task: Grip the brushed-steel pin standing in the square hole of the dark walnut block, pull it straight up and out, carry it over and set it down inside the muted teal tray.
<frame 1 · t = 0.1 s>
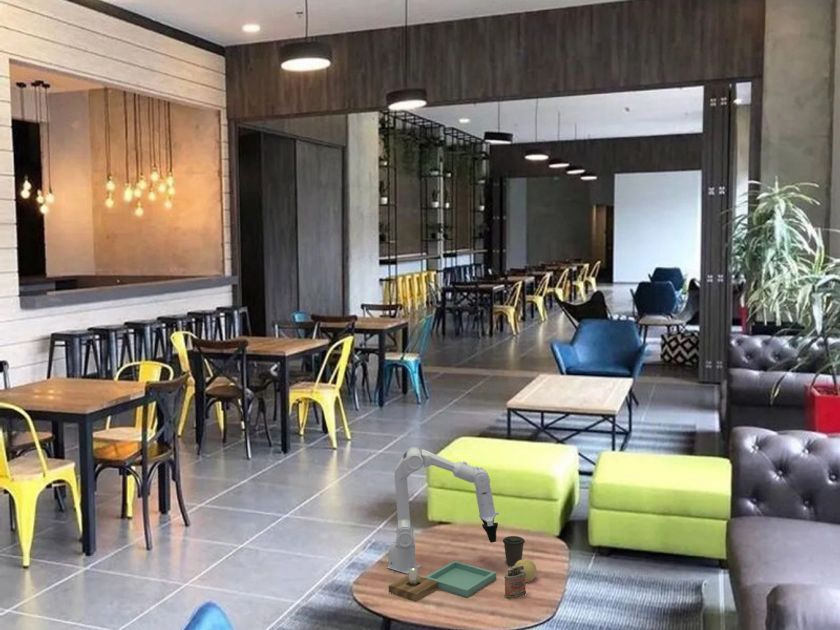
hand: (491, 538, 298), 11 cm above the table, tool pointing down, fingers open, 7 cm apart
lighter: (515, 596, 274), on the table
coffee cup: (513, 564, 300), on the table
apple: (524, 580, 287), on the table
tray: (460, 582, 285), on the table
pin: (413, 579, 279), in the pin block
pin block: (413, 590, 279), on the table
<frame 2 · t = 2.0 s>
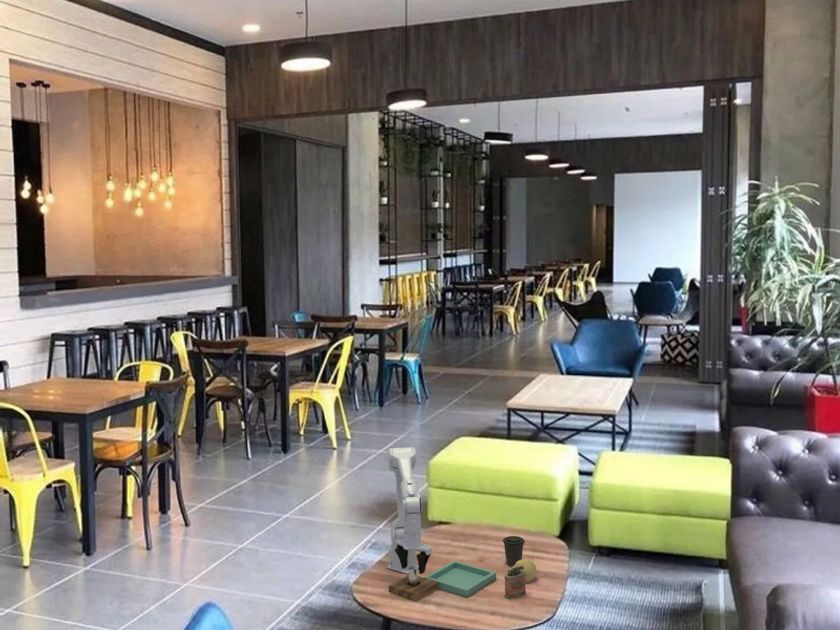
hand: (413, 570, 278), 7 cm above the table, tool pointing down, fingers open, 7 cm apart
nothing on the table moved.
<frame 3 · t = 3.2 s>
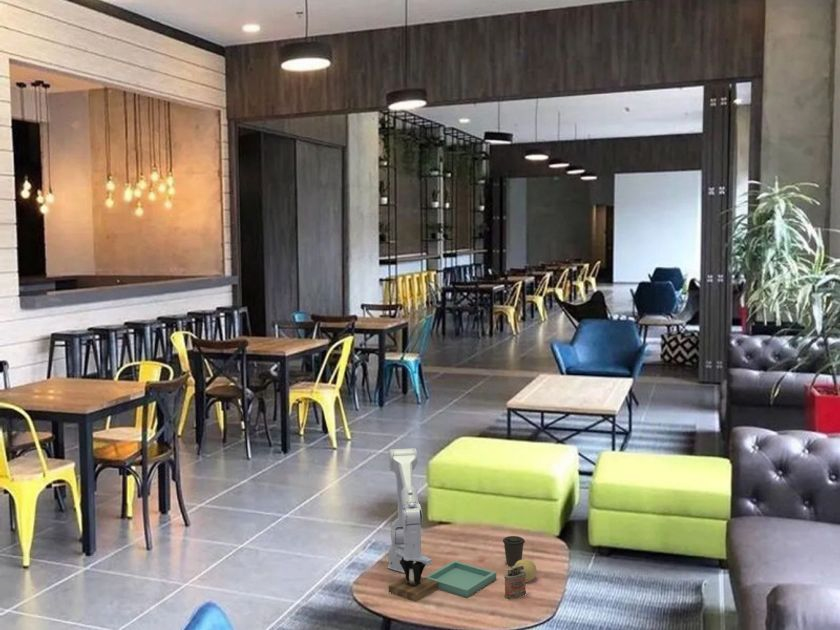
hand: (413, 581, 279), 3 cm above the table, tool pointing down, fingers closed on pin, 3 cm apart
pin: (413, 579, 279), in the pin block, touching gripper
everything else where it was.
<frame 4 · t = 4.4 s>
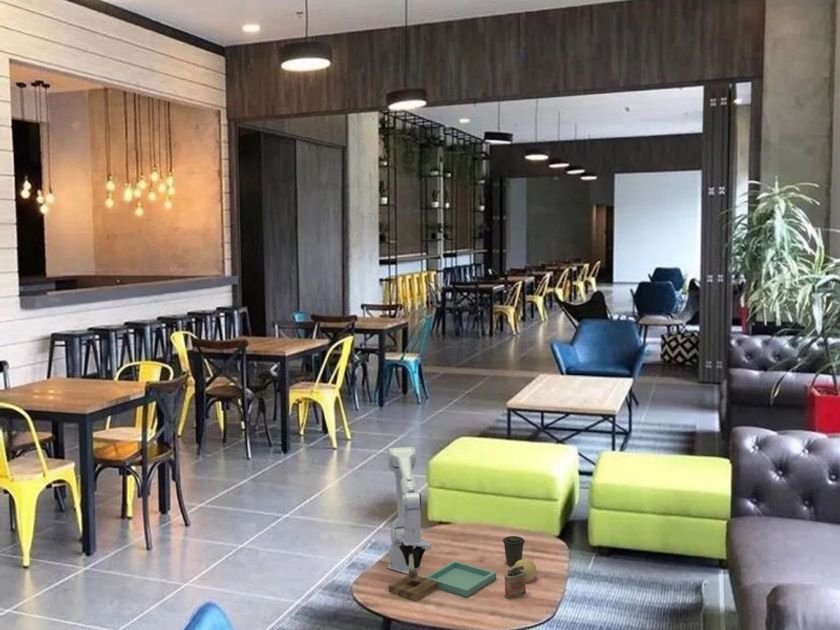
hand: (413, 566, 278), 9 cm above the table, tool pointing down, fingers closed on pin, 3 cm apart
pin: (413, 564, 278), point 9 cm above the table, touching gripper
everything else where it was.
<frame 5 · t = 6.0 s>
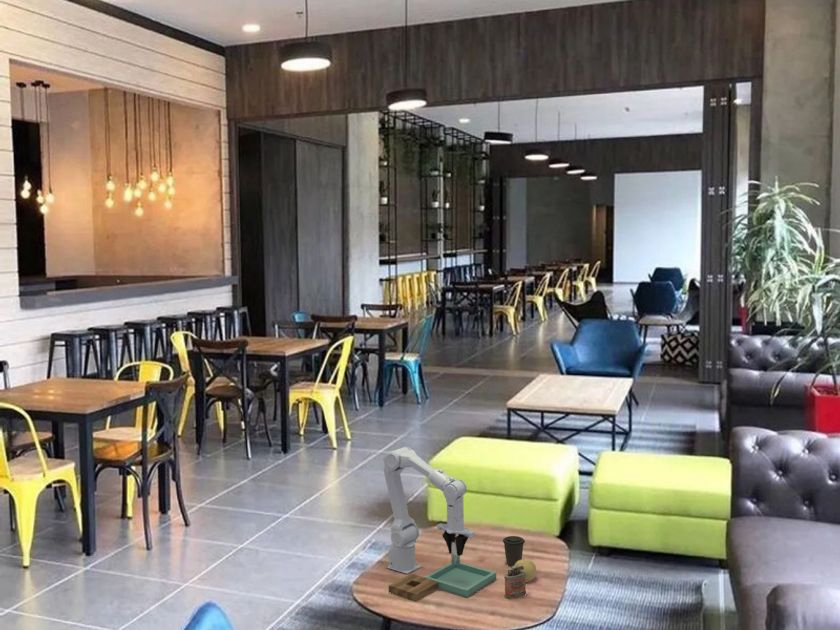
hand: (455, 553, 284), 10 cm above the table, tool pointing down, fingers closed on pin, 3 cm apart
pin: (455, 552, 284), point 11 cm above the table, touching gripper
everything else where it was.
when the fingers open (5 cm above the table, at t = 7.7 s): pin drops 1 cm, resting on tray.
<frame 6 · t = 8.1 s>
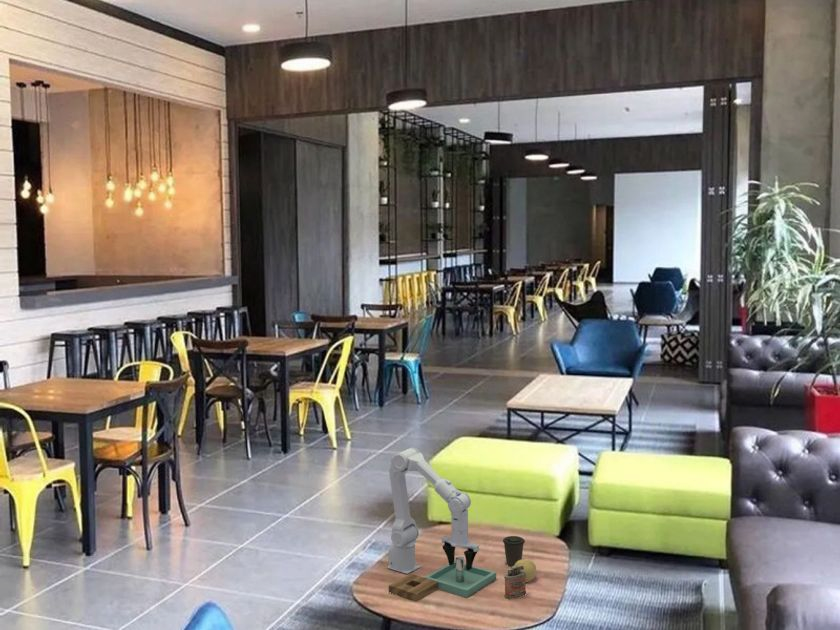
hand: (460, 566, 285), 6 cm above the table, tool pointing down, fingers open, 7 cm apart
pin: (460, 569, 285), in the tray, point 5 cm above the table
everything else where it was.
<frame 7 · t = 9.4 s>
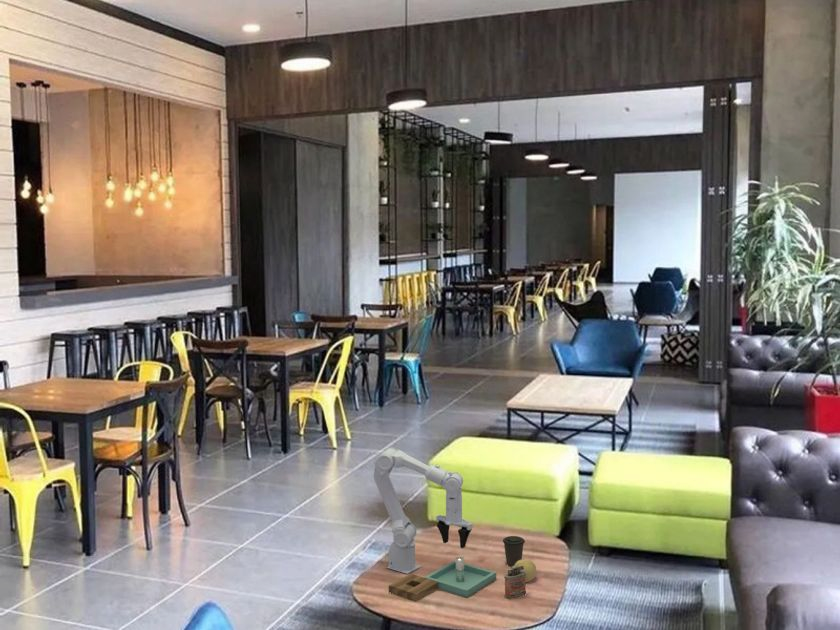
hand: (454, 544, 292), 10 cm above the table, tool pointing down, fingers open, 7 cm apart
nothing on the table moved.
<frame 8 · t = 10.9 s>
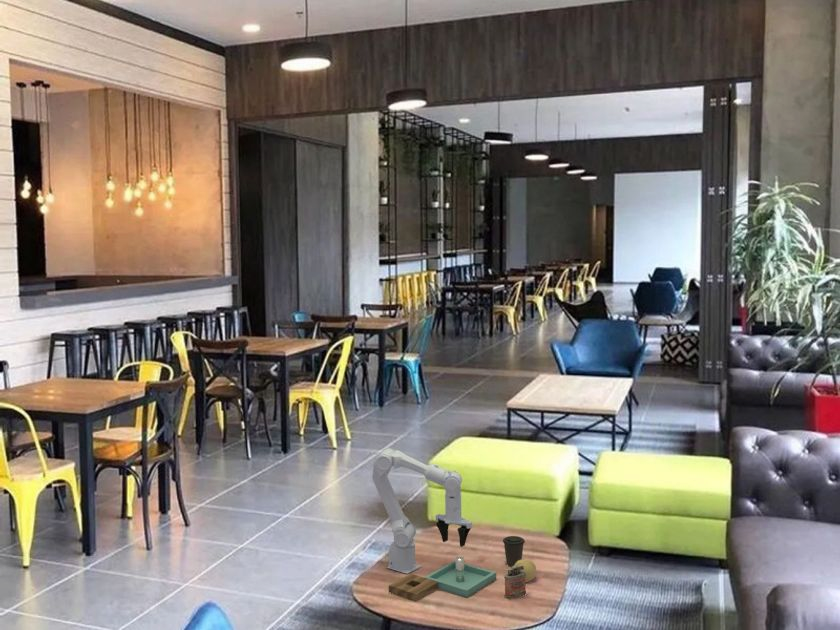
hand: (453, 543, 293), 10 cm above the table, tool pointing down, fingers open, 7 cm apart
nothing on the table moved.
at the end: pin inside the target area on the tray (0.2 cm from its centre), point 4.6 cm above the tray's base; pin moved 17.3 cm from its start; the gripper is holding nothing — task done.
